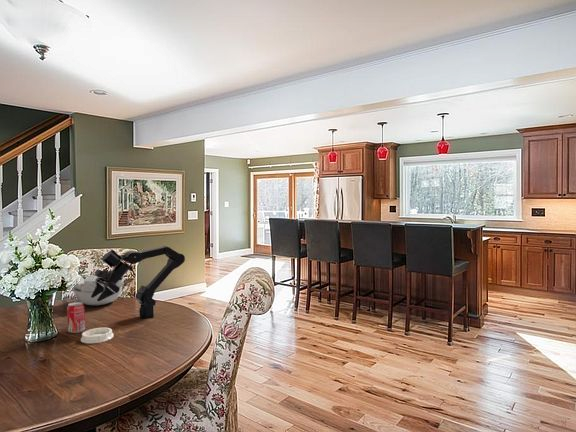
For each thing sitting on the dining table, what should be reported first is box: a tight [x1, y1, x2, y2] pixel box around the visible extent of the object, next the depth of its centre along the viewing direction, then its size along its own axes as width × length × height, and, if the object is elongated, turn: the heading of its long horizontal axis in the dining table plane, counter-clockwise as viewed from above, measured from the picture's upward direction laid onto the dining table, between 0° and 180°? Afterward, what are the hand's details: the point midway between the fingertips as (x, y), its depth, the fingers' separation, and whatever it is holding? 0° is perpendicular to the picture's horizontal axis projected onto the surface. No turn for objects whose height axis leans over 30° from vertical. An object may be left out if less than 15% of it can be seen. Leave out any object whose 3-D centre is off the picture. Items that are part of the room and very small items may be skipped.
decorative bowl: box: [71, 274, 125, 306], centre depth 234 cm, size 30×30×15 cm
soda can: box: [66, 301, 86, 334], centre depth 186 cm, size 7×7×13 cm
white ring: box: [80, 327, 114, 345], centre depth 176 cm, size 13×13×3 cm
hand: (94, 299), depth 191 cm, fingers open, 9 cm apart
